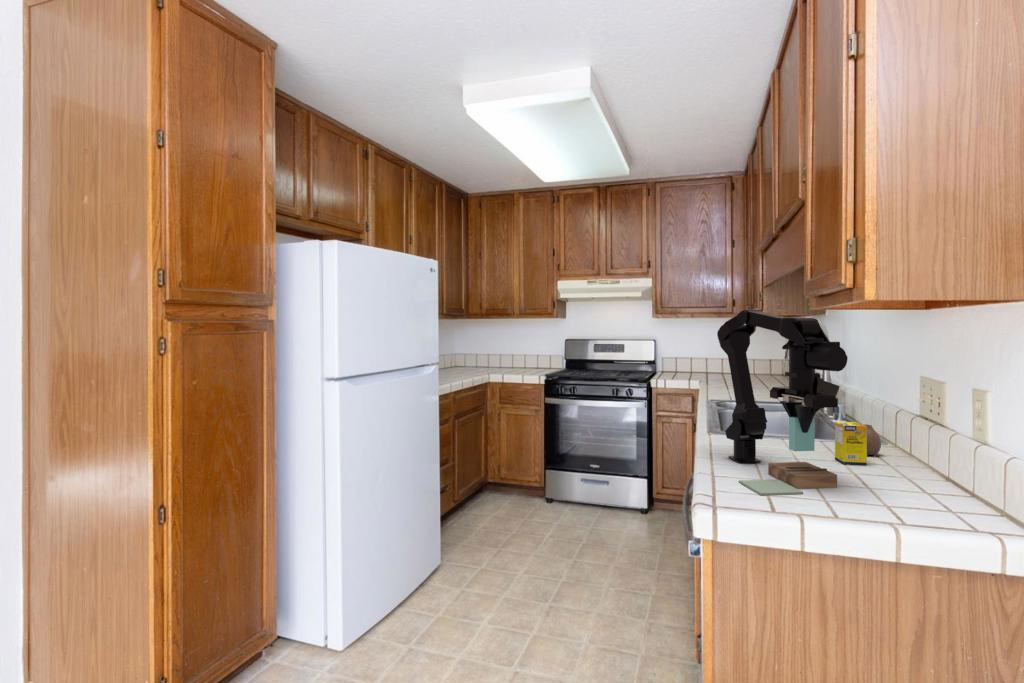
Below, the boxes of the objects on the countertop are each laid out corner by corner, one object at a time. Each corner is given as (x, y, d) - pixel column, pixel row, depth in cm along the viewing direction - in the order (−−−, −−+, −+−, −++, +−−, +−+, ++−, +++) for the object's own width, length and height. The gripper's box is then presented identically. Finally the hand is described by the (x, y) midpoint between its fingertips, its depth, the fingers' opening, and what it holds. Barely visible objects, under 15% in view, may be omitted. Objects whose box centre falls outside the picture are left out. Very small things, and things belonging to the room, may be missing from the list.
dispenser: (768, 474, 135) (768, 461, 135) (805, 473, 136) (805, 460, 136) (796, 488, 123) (796, 474, 123) (837, 487, 124) (837, 473, 124)
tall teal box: (789, 449, 130) (789, 417, 130) (808, 448, 131) (808, 416, 130) (794, 451, 128) (794, 418, 128) (814, 450, 128) (814, 418, 128)
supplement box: (867, 465, 143) (867, 425, 142) (843, 464, 144) (843, 425, 143) (857, 460, 148) (857, 421, 148) (834, 459, 150) (834, 421, 149)
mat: (738, 482, 128) (738, 480, 128) (777, 481, 129) (777, 479, 129) (760, 495, 118) (760, 493, 118) (803, 494, 119) (803, 491, 119)
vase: (886, 457, 151) (886, 427, 151) (862, 457, 151) (862, 427, 151) (870, 451, 158) (870, 422, 158) (847, 451, 158) (847, 423, 158)
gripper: (860, 371, 120) (860, 438, 120) (809, 365, 139) (809, 424, 139) (814, 371, 119) (813, 439, 120) (768, 365, 138) (768, 424, 138)
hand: (801, 431), depth 129 cm, fingers closed on tall teal box, 2 cm apart
